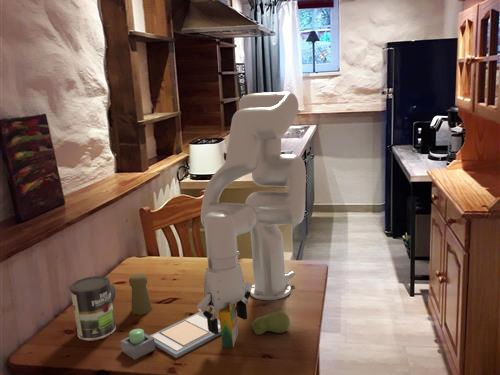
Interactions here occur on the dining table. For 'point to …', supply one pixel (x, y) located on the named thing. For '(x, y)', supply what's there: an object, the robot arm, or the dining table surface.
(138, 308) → the cork
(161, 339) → the grey white rectangular board
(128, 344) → the button housing
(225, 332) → the crayon box
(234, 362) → the dining table surface
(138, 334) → the button
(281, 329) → the pear
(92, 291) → the coffee can
